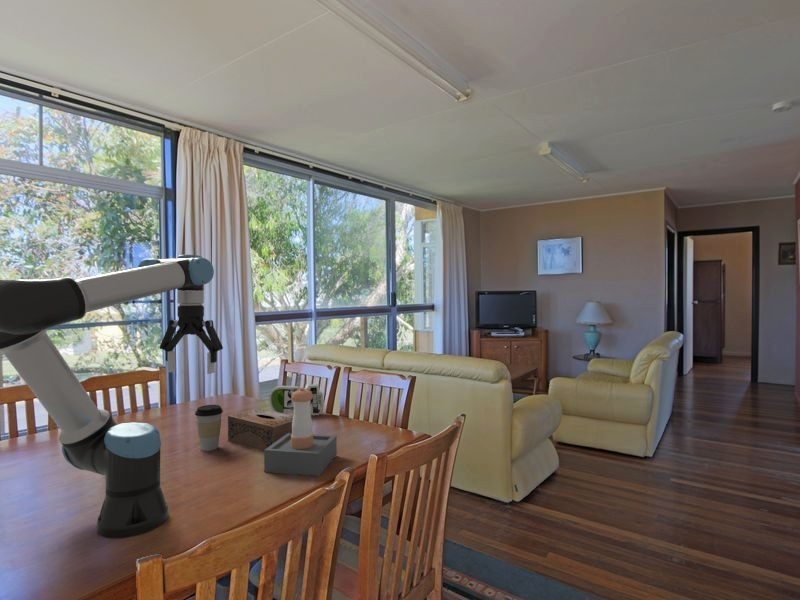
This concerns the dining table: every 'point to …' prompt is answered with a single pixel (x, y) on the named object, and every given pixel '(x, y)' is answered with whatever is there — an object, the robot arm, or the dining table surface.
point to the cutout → (283, 401)
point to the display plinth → (300, 456)
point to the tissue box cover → (258, 428)
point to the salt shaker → (302, 420)
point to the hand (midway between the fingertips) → (191, 372)
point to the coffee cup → (209, 426)
